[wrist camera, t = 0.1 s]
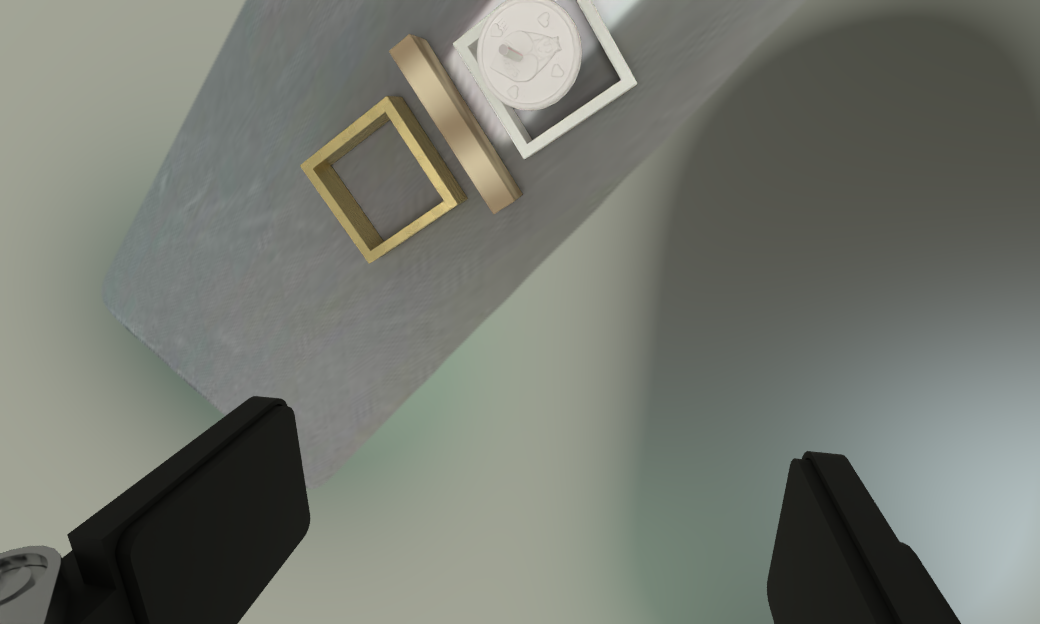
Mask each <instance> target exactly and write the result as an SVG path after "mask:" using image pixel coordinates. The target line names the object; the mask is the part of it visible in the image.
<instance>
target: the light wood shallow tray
mask: <svg viewBox="0 0 1040 624" xmlns="http://www.w3.org/2000/svg"><path fill="white" fill-rule="evenodd" d="M389 120H391V121H392V123H393V124H394V126H395V127H396V129H397V130H398V132H399V133H400V135H401V136H402V138H403V139H404V141H405V142H406V144H407V145H408V147H409V148H410V150H411V151H412V153H413V154H414V156H415V158H416V159H417V161H418V162H419V164H420V165H421V167H422V168H423V170H424V171H425V173H426V174H427V176H428V177H429V179H430V180H431V182H432V183H433V185H434V186H435V188H436V189H437V191H438V192H439V194H440V195H441V197H442V199H443V200H444V201H443V202H442V203H440V204H439V205H437V206H436V207H434V208H433V209H432V210H430V211H429V212H427V213H426V214H424V215H423V216H421V217H420V218H418V219H417V220H415V221H414V222H412V223H411V224H410V225H408V226H407V227H405V228H404V229H402V230H401V231H399V232H398V233H396V234H395V235H393V236H392V237H391V238H389V239H388V240H386V241H385V242H384V241H383V240H382V238H381V237H380V235H379V234H378V233H377V231H376V230H375V228H374V227H373V225H372V224H371V222H370V221H369V220H368V218H367V217H366V215H365V214H364V212H363V211H362V209H361V208H360V207H359V205H358V204H357V202H356V201H355V199H354V198H353V196H352V195H351V194H350V192H349V191H348V189H347V188H346V186H345V185H344V184H343V182H342V181H341V179H340V178H339V176H338V175H337V173H336V172H335V171H334V169H333V168H332V166H331V165H332V164H334V163H335V162H336V161H337V160H339V159H340V158H341V157H343V156H344V155H345V154H346V153H348V152H349V151H350V150H352V149H353V148H354V147H355V146H357V145H358V144H359V143H361V142H362V141H363V140H364V139H366V138H367V137H368V136H369V135H371V134H372V133H373V132H375V131H376V130H377V129H378V128H380V127H381V126H382V125H384V124H385V123H386V122H387V121H389ZM300 167H301V168H302V169H303V171H304V172H305V174H306V175H307V176H308V178H309V179H310V181H311V182H312V184H313V185H314V186H315V188H316V189H317V191H318V192H319V193H320V195H321V196H322V198H323V199H324V201H325V202H326V203H327V205H328V206H329V208H330V209H331V210H332V212H333V213H334V215H335V216H336V218H337V219H338V220H339V222H340V223H341V225H342V226H343V227H344V229H345V230H346V232H347V233H348V235H349V236H350V237H351V239H352V240H353V242H354V243H355V244H356V246H357V247H358V249H359V250H360V252H361V253H362V254H363V256H364V257H365V259H366V260H367V261H368V263H369V264H370V263H371V262H373V261H375V260H377V259H378V258H380V257H382V256H383V255H385V254H386V253H388V252H389V251H391V250H392V249H394V248H395V247H397V246H398V245H400V244H401V243H403V242H404V241H406V240H407V239H409V238H410V237H412V236H413V235H415V234H416V233H418V232H419V231H421V230H422V229H424V228H425V227H427V226H428V225H430V224H431V223H432V222H434V221H435V220H437V219H438V218H440V217H441V216H443V215H444V214H446V213H447V212H449V211H450V210H452V209H453V208H455V207H456V206H458V205H459V204H461V203H462V202H464V201H465V200H467V199H468V198H467V197H466V195H465V194H464V192H463V191H462V189H461V187H460V186H459V184H458V183H457V181H456V180H455V178H454V177H453V175H452V174H451V172H450V170H449V169H448V167H447V166H446V164H445V163H444V161H443V160H442V158H441V157H440V155H439V154H438V152H437V150H436V149H435V147H434V146H433V144H432V143H431V141H430V140H429V138H428V137H427V135H426V133H425V132H424V130H423V129H422V127H421V126H420V124H419V123H418V121H417V120H416V118H415V117H414V115H413V113H412V112H411V110H410V109H409V107H408V106H407V104H406V103H405V101H404V100H403V98H402V97H393V96H386V97H385V98H384V99H383V100H381V101H380V102H379V103H378V104H376V105H375V106H374V107H373V108H371V109H370V110H369V111H368V112H366V113H365V114H364V115H363V116H361V117H360V118H359V119H358V120H356V121H355V122H354V123H353V124H351V125H350V126H349V127H348V128H346V129H345V130H344V131H343V132H341V133H340V134H339V135H338V136H336V137H335V138H334V139H333V140H331V141H330V142H329V143H328V144H326V145H325V146H324V147H323V148H321V149H320V150H319V151H318V152H316V153H315V154H314V155H313V156H311V157H310V158H309V159H308V160H306V161H305V162H304V163H303V164H301V165H300Z"/></svg>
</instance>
